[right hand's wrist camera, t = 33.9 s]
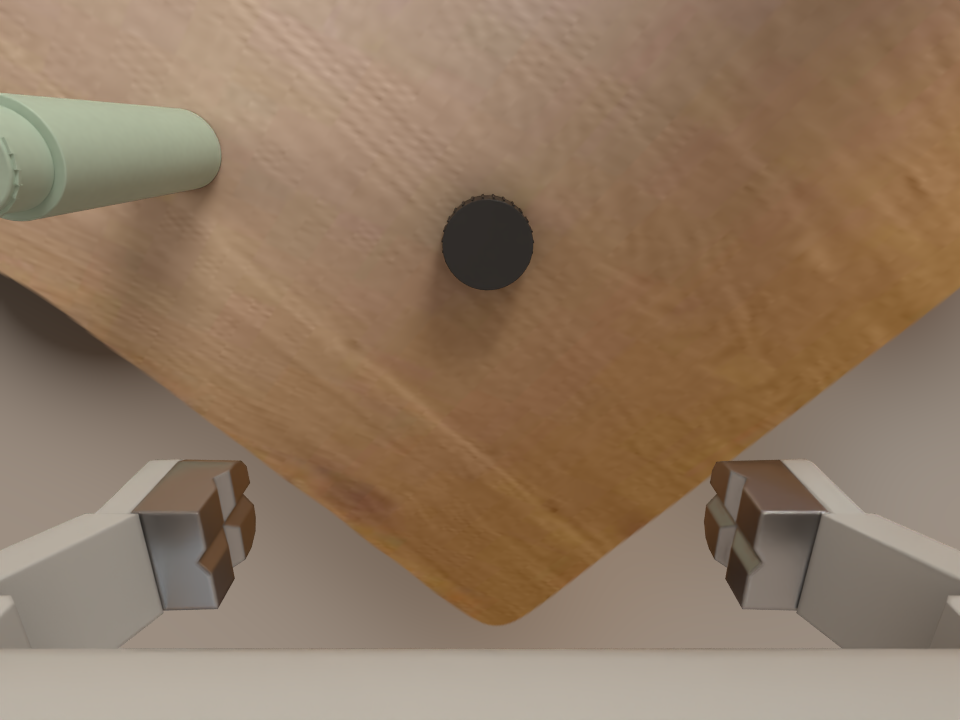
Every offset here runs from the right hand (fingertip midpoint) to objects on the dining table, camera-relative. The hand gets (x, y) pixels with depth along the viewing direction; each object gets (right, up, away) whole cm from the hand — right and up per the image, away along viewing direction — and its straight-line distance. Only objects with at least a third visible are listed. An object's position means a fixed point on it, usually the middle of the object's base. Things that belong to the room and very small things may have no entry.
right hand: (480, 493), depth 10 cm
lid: (0, +9, +23) cm, 24 cm away
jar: (-17, +14, +23) cm, 32 cm away
